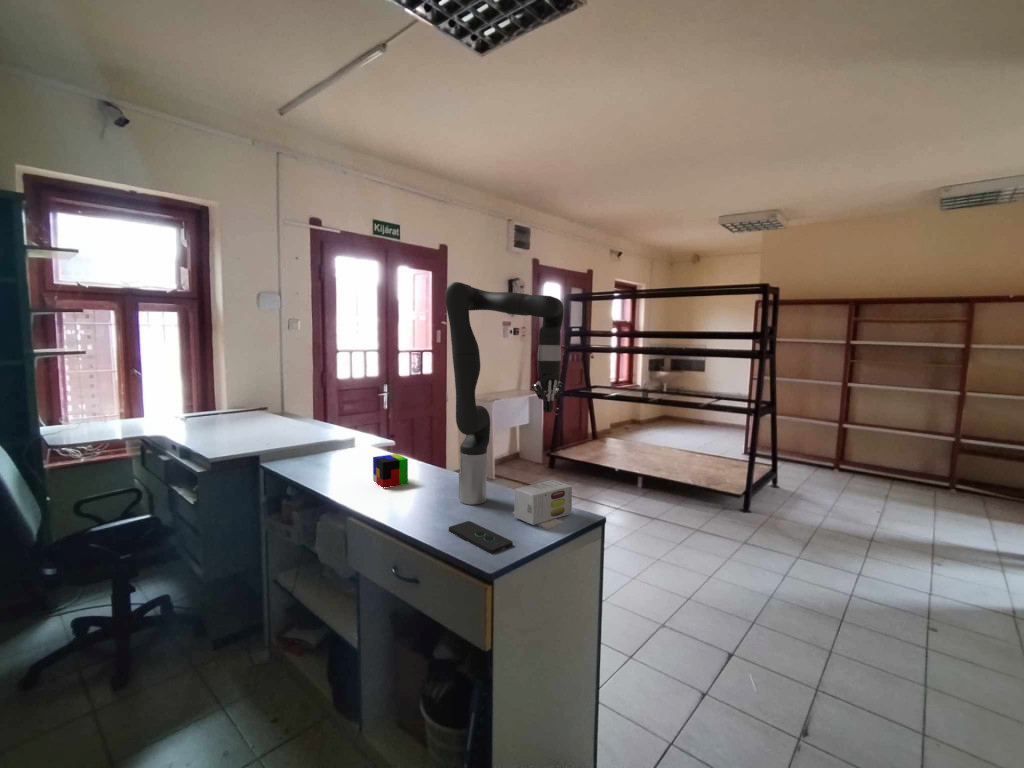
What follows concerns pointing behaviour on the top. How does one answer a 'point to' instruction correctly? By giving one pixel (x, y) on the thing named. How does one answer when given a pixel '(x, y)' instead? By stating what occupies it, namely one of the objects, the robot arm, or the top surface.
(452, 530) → the smart home device
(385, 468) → the puzzle toy
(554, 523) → the plain beige rectangular board
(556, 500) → the supplement box
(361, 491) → the top surface
